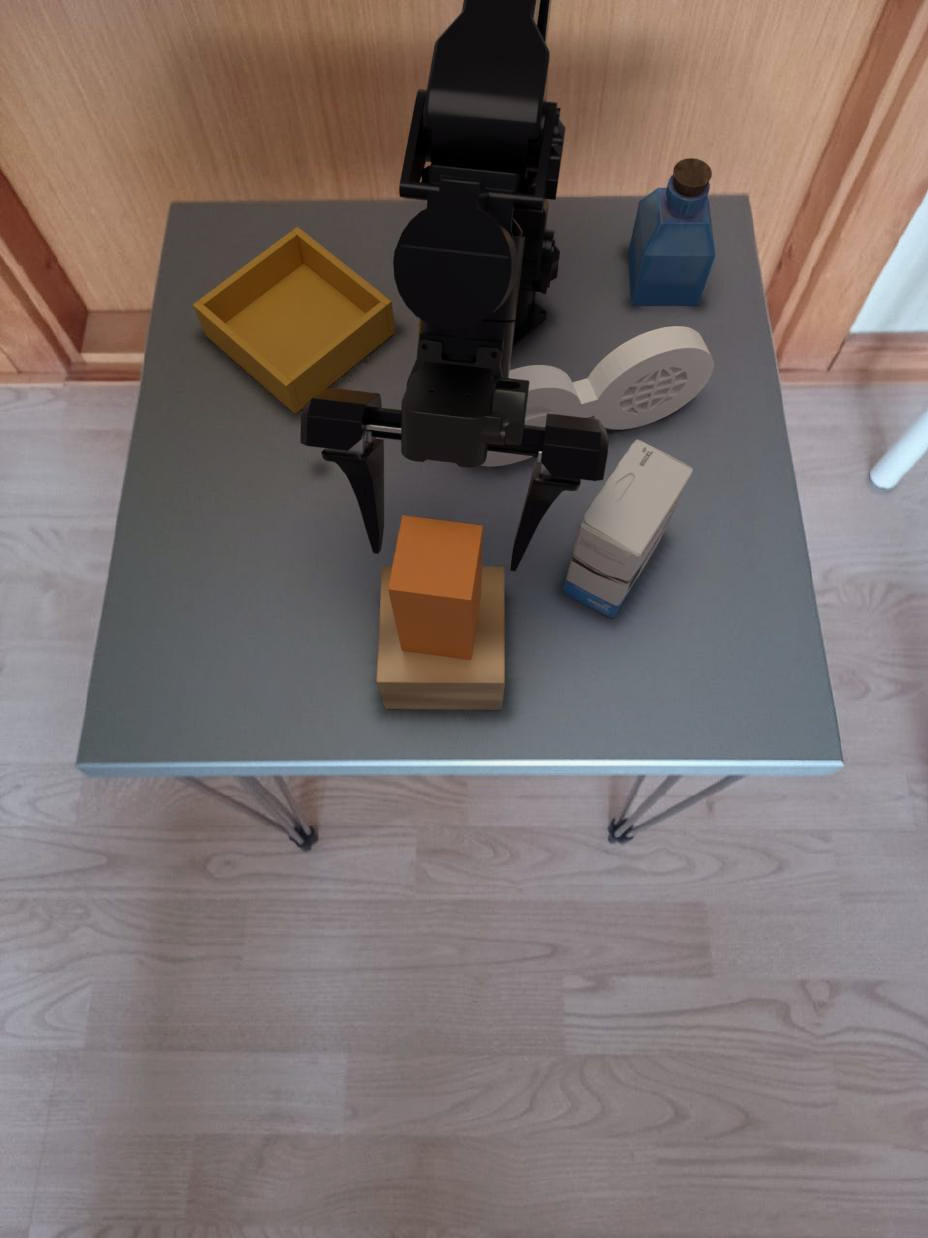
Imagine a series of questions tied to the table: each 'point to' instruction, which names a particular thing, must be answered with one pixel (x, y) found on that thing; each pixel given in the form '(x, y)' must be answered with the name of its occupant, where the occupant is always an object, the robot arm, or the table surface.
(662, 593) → the table surface
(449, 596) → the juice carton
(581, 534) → the ink box
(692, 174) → the perfume bottle
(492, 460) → the white double disc
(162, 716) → the table surface
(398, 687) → the riser block
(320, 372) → the tray
